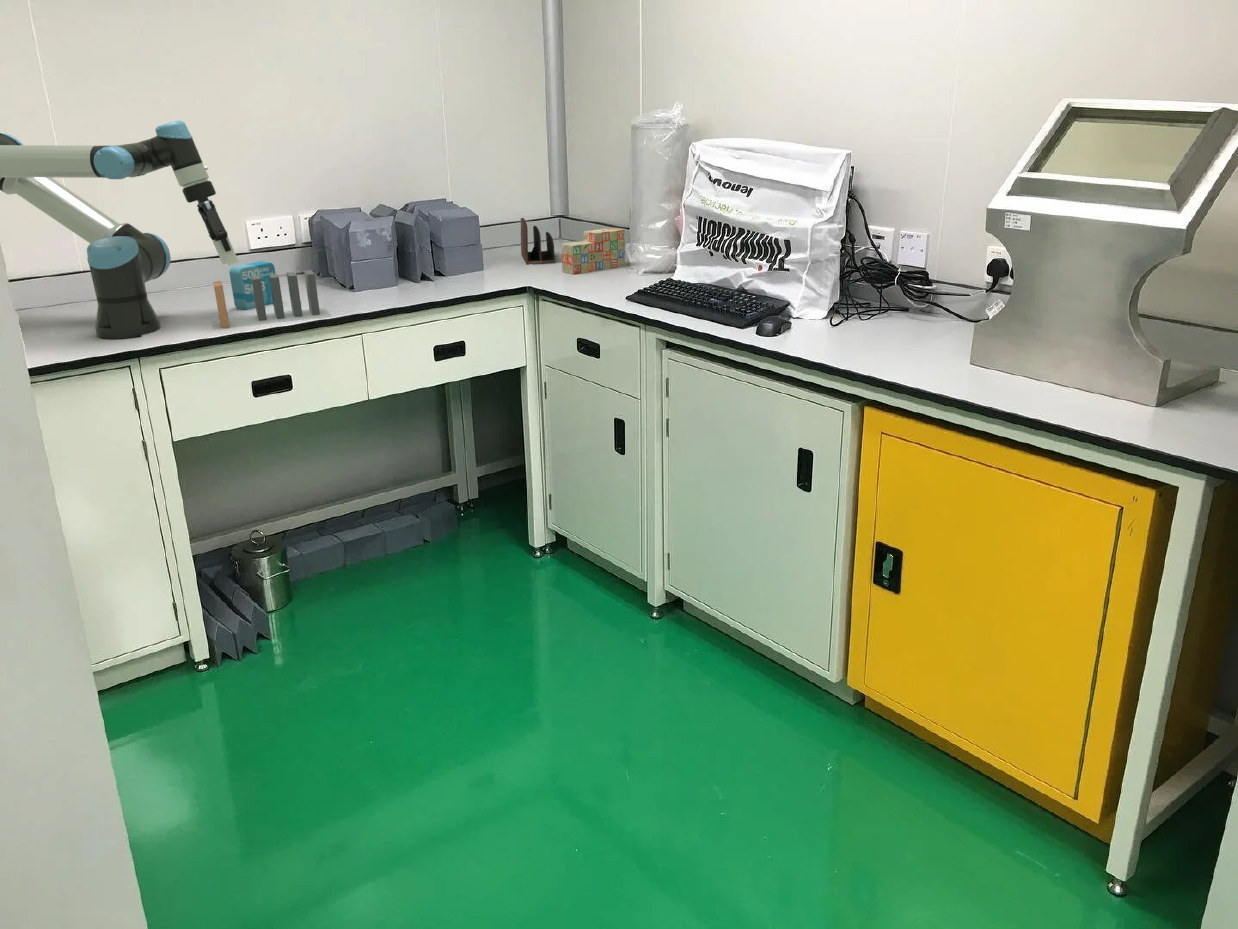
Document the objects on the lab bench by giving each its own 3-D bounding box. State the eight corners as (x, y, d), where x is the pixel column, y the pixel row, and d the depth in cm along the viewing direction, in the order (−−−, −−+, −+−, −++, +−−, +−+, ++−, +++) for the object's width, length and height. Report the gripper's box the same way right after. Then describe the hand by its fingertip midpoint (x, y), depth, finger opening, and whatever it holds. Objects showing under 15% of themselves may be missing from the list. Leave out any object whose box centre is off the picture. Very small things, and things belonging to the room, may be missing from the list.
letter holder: (526, 265, 334) (524, 222, 328) (521, 255, 352) (518, 215, 346) (555, 263, 335) (553, 221, 330) (548, 254, 353) (547, 214, 348)
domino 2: (259, 320, 261) (252, 279, 257) (257, 316, 267) (250, 275, 262) (266, 319, 262) (260, 278, 258) (264, 315, 267) (258, 274, 263)
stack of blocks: (573, 275, 315) (572, 236, 311) (562, 272, 320) (560, 234, 315) (625, 266, 328) (624, 228, 323) (613, 264, 332) (612, 227, 328)
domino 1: (221, 328, 254) (214, 285, 250) (220, 323, 260) (213, 281, 256) (229, 327, 255) (222, 285, 251) (228, 322, 260) (221, 280, 256)
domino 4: (294, 317, 265) (289, 276, 261) (292, 312, 270) (286, 272, 266) (302, 316, 266) (296, 275, 261) (299, 311, 271) (294, 271, 267)
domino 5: (312, 315, 266) (307, 274, 262) (309, 310, 272) (304, 270, 268) (320, 314, 267) (314, 273, 263) (317, 310, 272) (311, 270, 268)
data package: (245, 311, 274) (238, 268, 270) (235, 309, 277) (227, 267, 272) (280, 303, 284) (274, 261, 279) (270, 301, 286) (263, 260, 281)
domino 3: (277, 318, 263) (270, 277, 259) (274, 314, 268) (268, 274, 264) (284, 318, 264) (278, 277, 260) (282, 313, 269) (276, 273, 265)
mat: (213, 330, 254) (213, 329, 254) (211, 320, 264) (211, 319, 264) (332, 317, 265) (332, 316, 265) (325, 309, 275) (325, 307, 275)
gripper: (214, 176, 244) (250, 259, 251) (205, 181, 265) (238, 257, 273) (184, 185, 241) (221, 269, 249) (178, 190, 263) (212, 266, 270)
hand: (230, 263), depth 261 cm, fingers open, 13 cm apart
